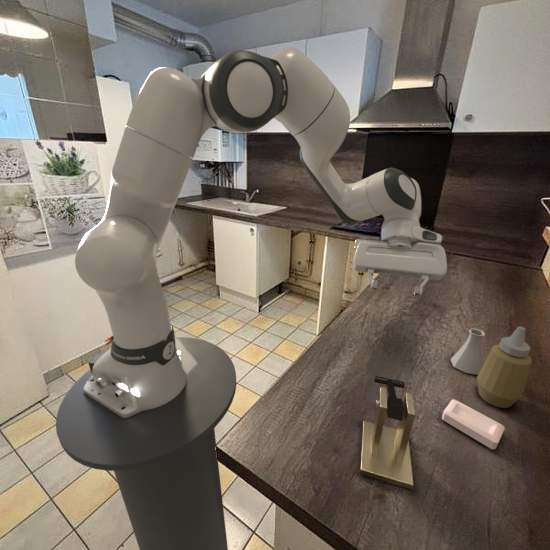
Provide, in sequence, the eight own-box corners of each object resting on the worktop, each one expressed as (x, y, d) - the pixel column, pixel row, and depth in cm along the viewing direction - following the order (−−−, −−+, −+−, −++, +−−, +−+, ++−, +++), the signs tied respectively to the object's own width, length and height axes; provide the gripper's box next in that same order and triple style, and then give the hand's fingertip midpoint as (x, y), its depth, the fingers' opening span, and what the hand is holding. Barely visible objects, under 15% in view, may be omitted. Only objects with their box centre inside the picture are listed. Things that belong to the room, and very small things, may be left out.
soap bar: (450, 405, 61) (453, 397, 60) (502, 434, 55) (506, 425, 54) (440, 420, 58) (443, 411, 57) (494, 452, 52) (498, 442, 51)
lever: (373, 383, 59) (375, 372, 59) (402, 389, 58) (404, 378, 57) (376, 415, 47) (378, 400, 47) (413, 424, 45) (415, 409, 45)
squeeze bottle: (493, 381, 68) (518, 315, 61) (527, 409, 61) (560, 337, 53) (463, 387, 66) (486, 319, 59) (495, 416, 59) (525, 342, 52)
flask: (484, 379, 68) (496, 344, 64) (449, 368, 72) (459, 334, 68) (483, 362, 74) (494, 329, 70) (450, 352, 78) (460, 320, 74)
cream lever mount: (362, 424, 57) (371, 373, 52) (406, 436, 55) (420, 383, 50) (360, 474, 48) (370, 418, 43) (412, 490, 46) (429, 433, 41)
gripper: (356, 228, 71) (348, 280, 66) (450, 235, 65) (449, 293, 60) (355, 241, 77) (348, 290, 72) (441, 249, 71) (440, 302, 66)
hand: (395, 291), depth 66 cm, fingers open, 8 cm apart
